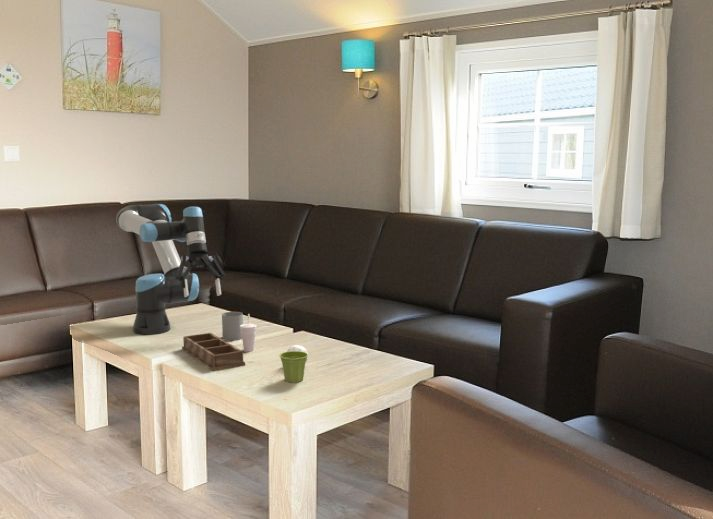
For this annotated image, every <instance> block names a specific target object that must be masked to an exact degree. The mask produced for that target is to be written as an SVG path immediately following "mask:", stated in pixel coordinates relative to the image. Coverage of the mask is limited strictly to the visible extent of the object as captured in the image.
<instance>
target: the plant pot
mask: <svg viewBox="0 0 713 519" xmlns="http://www.w3.org/2000/svg"><path fill="white" fill-rule="evenodd" d="M307 357H308V358H309V353H308V354H307V353H305V352H300V351H289V352H287V351H284V352H282V353H279V358H280V361H281V364H282V370H283V376H284V381H286V382H289V383H299V382H300V381H301V382H302V381H304V375H305V369H306V363H307V361H306V359H307ZM305 362H306V363H305Z"/></svg>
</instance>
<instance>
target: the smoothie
mask: <svg viewBox="0 0 713 519" xmlns="http://www.w3.org/2000/svg"><path fill="white" fill-rule="evenodd" d="M250 318H251V317H250V313H248V314H247V323H243V324H242V325H240V329H241V334H242V339H241V340H242V348H243V352H249V353H250V352H253V351H254V350H255V342H256V341H255V340H256V332H257V327H258V326H257V324H255V323H251V322H250Z"/></svg>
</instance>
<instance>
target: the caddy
mask: <svg viewBox="0 0 713 519" xmlns="http://www.w3.org/2000/svg"><path fill="white" fill-rule="evenodd" d="M181 348H182V350H183V351H184V352H185V353H187V354H188V355H190V356H191V357H193V358H194V359H196V360H197V361H199V362H200V363H201V364H203V365H205V366H206V367H207V368H209V369H210V370H211V371H218V370H219V371H220V370H224V369H231V368H235V367H243V366H246V362H245V361H244V350H241V349H240V348H238V347H236V346H234V345H232V344H231V343H229V342H227V340H223V338H221V337H219V336H217V335H216V334H214V333H212V332H207V333H206V332H205V333H198V334H193V335H184V336H183V346H181Z"/></svg>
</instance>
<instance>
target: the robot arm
mask: <svg viewBox="0 0 713 519" xmlns="http://www.w3.org/2000/svg"><path fill="white" fill-rule="evenodd" d="M182 214H183V215H182V216H183V218H182V220H180V221H176V220H175V221H172V217H171V211H170V210H169V208H168V207H167V205H165V204H163V203H153V204H152V203H151V204H131V205H127V206H125V207H123V208H121V209H120V210H119V211H118V212H117V214H116V216H115V217H116V218H115V221H116V225H117V226H118V227H119V229H120V230H122V231H125V232H127V233H128V232H131V233H135V234H137V235H138V236H139V237H140V239H141V241H142V242H144V243H151V244H152V246H153V249H154V251H155V253H156V255H157V256H156V257H157V259H158V260H159V264H160V266H161V268H162V271H163V273H164V274H163V273H149V274H146V275H141V276H139V277H138V278H137V279H136V281H135V289H134V290H135V302H136V304H135V305H136V315H135V317H134V318H135V319H134V321H133V326H132V328H133V329H132V330H133V331H134V332H135V334H137V333H138V335H156V334H162V333H166V332H167V333H168V332H169V331H170V330H171V323H170V320H169V318H168V315H167V312H166V305H169V304H176V303H184V302H185V303H188V302H190V301H194V300H196V299H197V297H198V296H199V292H200V281H199V277H198V274H196V273H193V272H192V273H191V270H192V269H193V267H194V268H203V267H204V268H205V269H206V270H207V271H208V272H209V273H210V274H211V275H212V276H213V277H214V278H215V280H214V282H215V284H214V285H215V291H216V296H217V297H218V296H221V295H222V289H221V288H222V287H223V281H222V279H223V278H225V277H226V273H225V272H224V270H223V268H222V267H221V265H220V264H219V262H218V260H217V257H216V255H215V254H213V255H210V256H209V255H208V247H207V244H206V243H207V240H206V234H205V233H206V232H205V224H204V215H203V211H202V208H201V207H199V206H188V207H186V208H184V209H183V210H182ZM174 241H177V242H180V243H184V242H186V245H187V255H188V256H187V255H185V254H184V255H182V256H181V257H180V255H179V253H178V251H177V248H176V246H175V243H174ZM187 261H189V265H188V266H187V267H186V266H185V265H186V263H187ZM209 261H210V262H209ZM211 264H212V265H211ZM134 332H133V333H134Z"/></svg>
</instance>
